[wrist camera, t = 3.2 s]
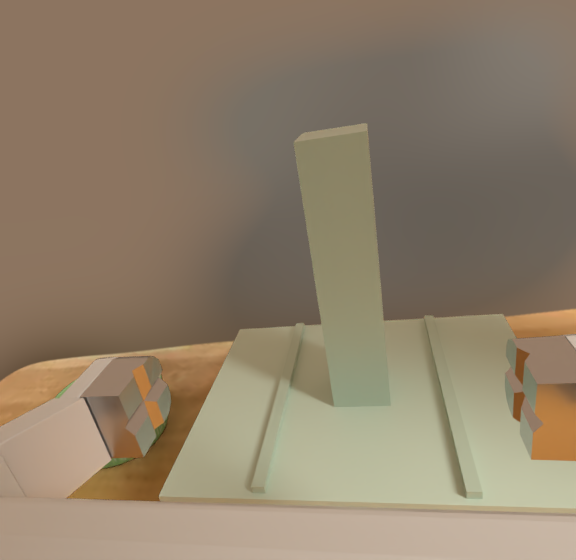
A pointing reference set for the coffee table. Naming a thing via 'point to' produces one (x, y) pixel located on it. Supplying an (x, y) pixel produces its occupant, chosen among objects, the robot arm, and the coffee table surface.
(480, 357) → the grooved base with post
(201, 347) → the coffee table surface
